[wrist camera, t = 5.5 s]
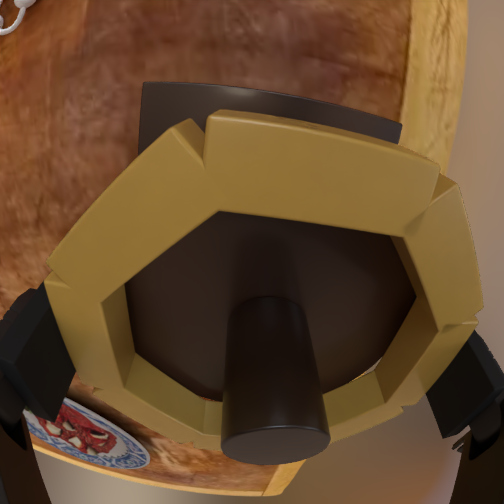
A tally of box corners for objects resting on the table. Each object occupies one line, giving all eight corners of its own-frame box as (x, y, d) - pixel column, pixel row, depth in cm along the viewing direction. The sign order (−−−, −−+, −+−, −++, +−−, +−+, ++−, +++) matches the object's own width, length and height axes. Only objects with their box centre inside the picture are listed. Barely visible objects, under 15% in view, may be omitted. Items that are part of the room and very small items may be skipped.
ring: (500, 184, 6) (536, 207, 5) (366, 418, 12) (373, 446, 11) (60, 107, 5) (18, 117, 4) (115, 401, 11) (106, 431, 10)
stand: (393, 121, 14) (603, 228, 3) (335, 308, 20) (386, 487, 9) (150, 82, 13) (-83, 114, 2) (147, 289, 19) (84, 473, 8)
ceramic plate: (189, 445, 33) (187, 464, 30) (107, 463, 41) (104, 475, 38) (9, 333, 23) (-3, 353, 20) (-11, 390, 31) (-17, 402, 28)
